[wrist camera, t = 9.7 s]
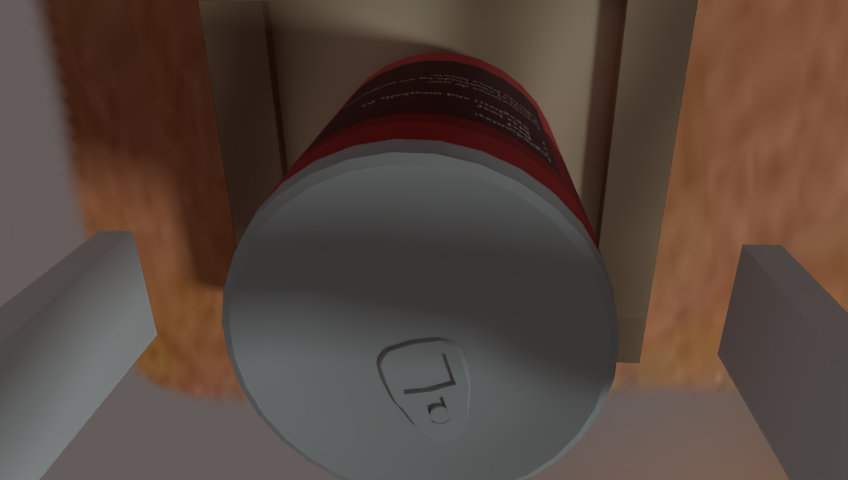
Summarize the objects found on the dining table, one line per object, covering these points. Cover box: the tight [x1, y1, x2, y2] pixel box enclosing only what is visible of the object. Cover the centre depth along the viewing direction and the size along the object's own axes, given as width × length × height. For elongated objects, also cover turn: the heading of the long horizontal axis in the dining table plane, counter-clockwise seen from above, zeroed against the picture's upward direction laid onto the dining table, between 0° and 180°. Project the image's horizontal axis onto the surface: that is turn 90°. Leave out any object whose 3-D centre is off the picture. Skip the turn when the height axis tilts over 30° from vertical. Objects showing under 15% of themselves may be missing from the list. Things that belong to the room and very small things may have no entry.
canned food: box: [222, 52, 619, 480], centre depth 17 cm, size 8×8×11 cm
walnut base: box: [198, 0, 698, 363], centre depth 23 cm, size 15×15×4 cm
